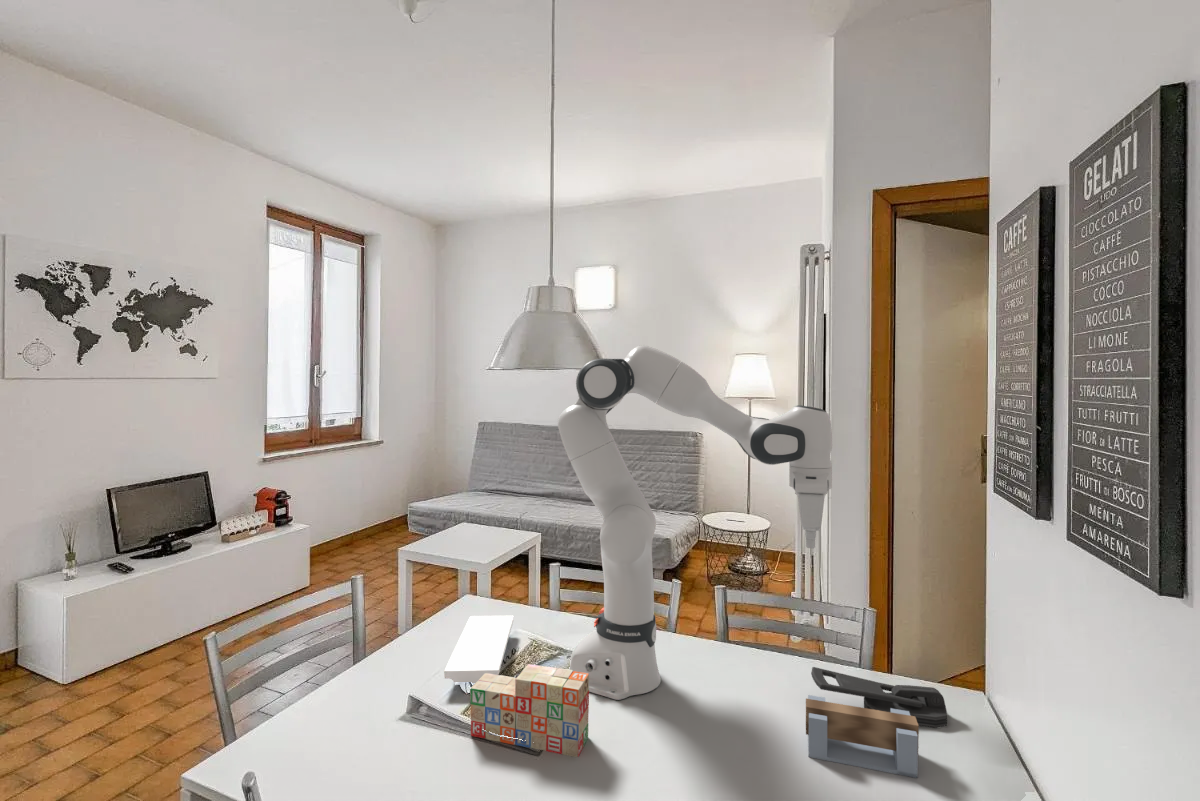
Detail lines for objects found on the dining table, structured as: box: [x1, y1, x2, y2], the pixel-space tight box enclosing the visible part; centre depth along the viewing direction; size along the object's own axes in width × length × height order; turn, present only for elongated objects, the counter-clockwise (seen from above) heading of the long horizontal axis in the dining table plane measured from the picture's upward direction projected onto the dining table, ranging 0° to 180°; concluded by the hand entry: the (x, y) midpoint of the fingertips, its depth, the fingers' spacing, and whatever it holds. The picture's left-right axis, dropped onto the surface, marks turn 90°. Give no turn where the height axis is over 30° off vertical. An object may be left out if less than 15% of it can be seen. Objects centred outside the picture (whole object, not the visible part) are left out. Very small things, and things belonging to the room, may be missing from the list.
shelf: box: [443, 615, 515, 683], centre depth 137 cm, size 12×30×5 cm, turn 2°
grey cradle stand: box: [807, 694, 919, 779], centre depth 102 cm, size 17×8×7 cm, turn 71°
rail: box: [805, 698, 920, 751], centre depth 102 cm, size 18×3×5 cm, turn 71°
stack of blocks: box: [469, 663, 590, 758], centre depth 107 cm, size 21×6×12 cm, turn 74°
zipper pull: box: [810, 666, 948, 729], centre depth 116 cm, size 9×7×25 cm
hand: (809, 541), depth 127 cm, fingers open, 8 cm apart
